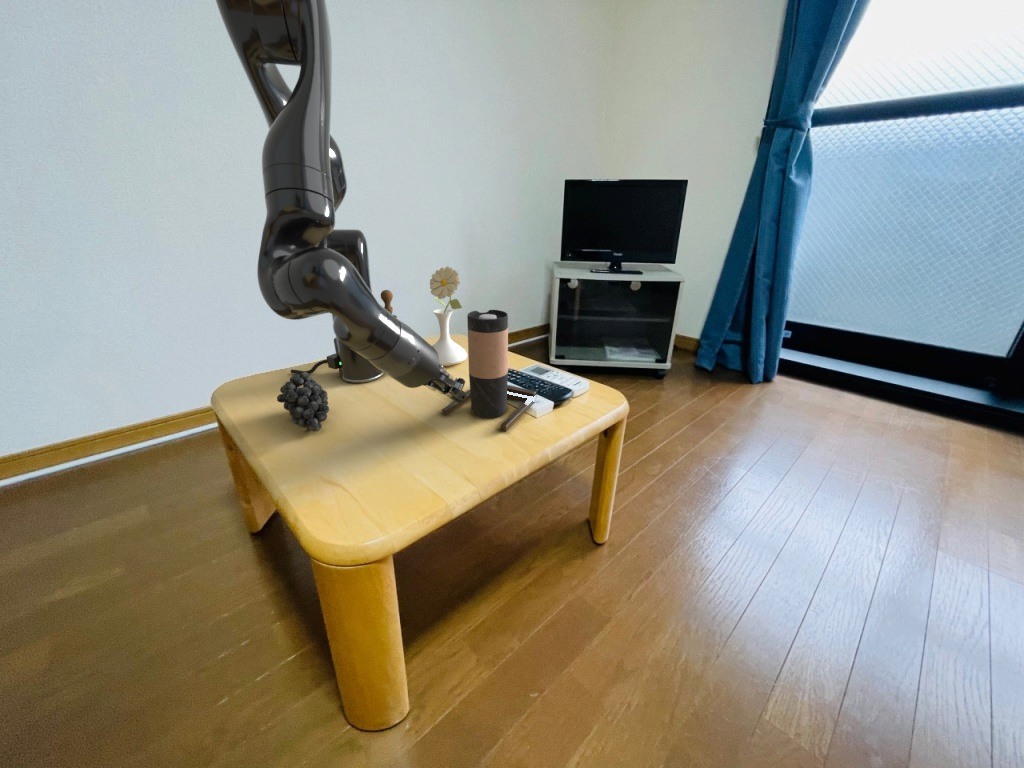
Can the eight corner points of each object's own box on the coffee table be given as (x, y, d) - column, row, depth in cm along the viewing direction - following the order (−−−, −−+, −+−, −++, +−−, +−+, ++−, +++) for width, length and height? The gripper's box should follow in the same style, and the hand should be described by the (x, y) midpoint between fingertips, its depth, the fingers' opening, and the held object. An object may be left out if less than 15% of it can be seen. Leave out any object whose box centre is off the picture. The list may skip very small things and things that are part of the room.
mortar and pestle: (399, 361, 104) (391, 293, 97) (376, 359, 106) (367, 292, 98) (409, 353, 110) (403, 288, 103) (388, 351, 112) (380, 287, 104)
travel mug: (495, 423, 75) (495, 321, 67) (462, 413, 79) (458, 316, 70) (514, 406, 82) (515, 312, 73) (483, 398, 85) (481, 307, 77)
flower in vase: (416, 360, 105) (407, 264, 95) (451, 351, 112) (446, 260, 102) (443, 375, 96) (437, 270, 86) (480, 364, 103) (478, 266, 93)
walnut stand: (442, 414, 78) (441, 403, 77) (478, 388, 90) (478, 378, 89) (506, 431, 73) (506, 420, 72) (536, 401, 84) (536, 391, 83)
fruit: (319, 390, 66) (309, 360, 78) (270, 415, 64) (267, 380, 75) (344, 427, 71) (331, 394, 83) (299, 452, 69) (292, 414, 80)
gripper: (444, 340, 55) (498, 389, 69) (385, 324, 62) (445, 371, 77) (419, 386, 54) (479, 427, 68) (361, 365, 61) (426, 406, 75)
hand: (461, 398), depth 72 cm, fingers closed
